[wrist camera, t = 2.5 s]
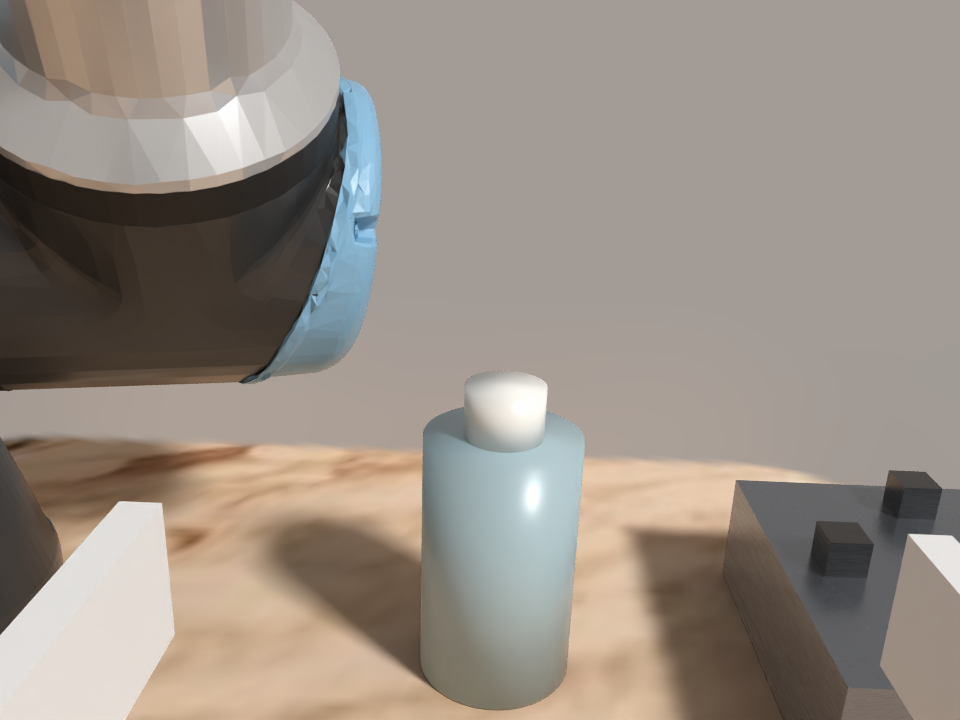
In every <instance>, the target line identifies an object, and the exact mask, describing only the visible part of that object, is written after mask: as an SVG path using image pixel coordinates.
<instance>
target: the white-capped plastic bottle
mask: <svg viewBox="0 0 960 720" xmlns="http://www.w3.org/2000/svg"><path fill="white" fill-rule="evenodd" d="M546 402H547V384H546V383H545V382H544V381H543V380H541V379H540V378H538V377H535V376H533V375H530V374H526V373H520V372H514V371H489V372H483V373H479V374H476V375H473V376H471V377H470V378H468V379H467V380H466V382H465V403H464V407H463V408H458V409H455V410H451V411H448V412H446V413H443V414H441V415H439V416H437V417H435V418H434V419H432V420H431V421H430V422H429V423H428V424H427V425H426V427H425V429H424V432H423V479H422V558H421V638H420V663H421V668H422V671H423V674H424V675H425V677H426V679H427V680H428V682H429V683H430V684H431V685H432V686H433V687H434V688H435V689H436V690H437V691H438V692H440V693H441V694H443V695H444V696H445V697H447V698H449V699H451V700H453V701H455V702H458V703H460V704H463V705H466V706H470V707H474V708H479V709H486V710H509V709H516V708H521V707H525V706H528V705H532V704H534V703H536V702H539V701H541V700H542V699H544V698H546V697H548V696H549V695H550V694H551V693H553V692H554V691H555V690H556V689H557V688H558V687H559V685H560V684H561V682H562V681H563V679H564V676H565V674H566V669H567V658H568V646H569V633H570V621H571V609H572V596H573V584H574V571H575V559H576V547H577V534H578V522H579V510H580V497H581V485H582V473H583V460H584V447H585V438H584V435H583V433H582V432H581V430H580V429H579V428H578V427H577V426H576V425H574V424H573V423H572V422H570V421H568V420H566V419H565V418H562V417H561V416H558V415H556V414H553V413H550V412H547V411H546Z"/></svg>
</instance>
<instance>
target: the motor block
mask: <svg viewBox="0 0 960 720" xmlns="http://www.w3.org/2000/svg"><path fill="white" fill-rule="evenodd" d="M908 534H924V535H948V536H953V537H954V538H955V539H956V540H957V541H958V542H959V543H960V490H957V489H942V488H941V487H940V486H939V485H938V484H937V483H936V482H935V481H934V480H933V479H932V478H931V477H930V476H929V475H928V474H927V473H926V472H914V471H891V470H890V471H889V473H888V478H887V483H886V486H862V485H838V484H814V483H791V482H767V481H743V480H736V484H735V491H734V498H733V505H732V512H731V518H730V525H729V532H728V539H727V546H726V552H725V559H724V566H723V575H724V578H725V580H726V582H727V585H728V587H729V589H730V592H731V594H732V597H733V599H734V601H735V604H736V606H737V609H738V611H739V613H740V616H741V618H742V621H743V623H744V625H745V628H746V630H747V633H748V635H749V637H750V640H751V642H752V645H753V647H754V649H755V652H756V654H757V656H758V659H759V661H760V664H761V666H762V668H763V671H764V673H765V676H766V678H767V680H768V683H769V685H770V688H771V690H772V692H773V695H774V697H775V700H776V702H777V704H778V707H779V709H780V712H781V714H782V716H783V719H784V720H913V718H912V716H911V715H910V713H909V712H908V710H907V708H906V707H905V705H904V704H903V702H902V700H901V699H900V697H899V695H898V694H897V692H896V691H895V689H894V687H893V686H892V684H891V683H890V681H889V679H888V678H887V676H886V675H885V673H884V671H883V670H882V668H881V666H880V662H881V657H882V653H883V648H884V643H885V639H886V634H887V629H888V625H889V620H890V615H891V611H892V606H893V601H894V597H895V592H896V587H897V583H898V578H899V573H900V569H901V564H902V559H903V555H904V550H905V545H906V541H907V536H908Z"/></svg>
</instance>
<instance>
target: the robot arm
mask: <svg viewBox="0 0 960 720" xmlns="http://www.w3.org/2000/svg"><path fill="white" fill-rule="evenodd" d="M380 201H381V146H380V135H379V129H378V122H377V117H376V112H375V107H374V104H373V101H372V99H371V97H370V95H369V93H368V91H367V90H366V89H365V88H364V87H363V86H362V85H361V84H358V83H356V82H354V81H351V80H346V79H345V78H343V77H341V76H340V67H339V62H338V57H337V54H336V51H335V49H334V47H333V44H332V42H331V40H330V39H329V37H328V35H327V34H326V32H325V30H324V29H323V28H322V27H321V26H320V25H319V24H318V22H317V21H316V20H315V19H314V18H313V17H312V16H311V15H310V14H309V13H308V12H307V11H305V10H304V9H303V8H302V7H301V6H300V5H298V4H297V3H296V2H294V1H293V0H0V391H11V390H22V389H50V388H81V387H109V386H138V385H169V384H198V383H226V382H239V383H241V384H255V383H258V382H261V381H263V380H265V379H268V378H270V377H276V376H286V375H296V374H306V373H315V372H319V371H323V370H325V369H328V368H330V367H332V366H334V365H335V364H336V363H338V362H339V361H340V360H341V359H342V358H343V357H344V356H345V355H346V354H347V353H348V352H349V350H350V349H351V347H352V346H353V344H354V342H355V340H356V338H357V336H358V334H359V332H360V329H361V326H362V323H363V320H364V317H365V313H366V310H367V306H368V301H369V297H370V292H371V287H372V282H373V276H374V270H375V262H376V254H377V240H376V234H375V226H376V224H377V221H378V216H379V210H380ZM174 635H175V630H174V620H173V610H172V600H171V590H170V579H169V569H168V559H167V549H166V539H165V528H164V518H163V508H162V503H150V502H126V501H119V502H118V503H117V504H116V505H115V506H114V508H113V509H112V510H111V511H110V512H109V513H108V514H107V515H106V517H105V518H104V519H103V520H102V521H101V522H100V523H99V525H98V526H97V527H96V528H95V529H94V530H93V531H92V532H91V534H90V535H89V536H88V537H87V538H86V539H85V540H84V541H83V543H82V544H81V545H80V546H79V547H78V548H77V549H76V550H75V552H74V553H73V554H72V555H71V556H70V557H69V558H68V559H67V561H66V562H65V563H64V564H63V559H62V552H61V545H60V541H59V538H58V535H57V532H56V530H55V528H54V526H53V524H52V523H51V521H50V520H49V519H48V518H47V517H46V516H45V514H44V513H43V512H42V510H41V508H40V506H39V504H38V502H37V500H36V498H35V496H34V494H33V493H32V491H31V489H30V487H29V485H28V484H27V482H26V480H25V478H24V476H23V475H22V473H21V471H20V470H19V468H18V466H17V464H16V463H15V461H14V459H13V458H12V456H11V454H10V453H9V451H8V449H7V448H6V446H5V444H4V443H3V441H2V439H1V438H0V720H125V719H126V717H127V716H128V714H129V712H130V710H131V709H132V707H133V705H134V704H135V702H136V700H137V698H138V697H139V695H140V693H141V692H142V690H143V688H144V686H145V685H146V683H147V681H148V680H149V678H150V676H151V674H152V673H153V671H154V669H155V668H156V666H157V664H158V662H159V661H160V659H161V657H162V656H163V654H164V652H165V650H166V649H167V647H168V645H169V643H170V642H171V640H172V638H173V637H174ZM880 666H881V668H882V670H883V671H884V673H885V675H886V676H887V678H888V679H889V681H890V683H891V684H892V686H893V687H894V689H895V691H896V692H897V694H898V695H899V697H900V699H901V700H902V702H903V704H904V705H905V707H906V708H907V710H908V712H909V713H910V715H911V716H912V718H913V720H960V543H959V542H958V541H957V540H956V539H955V538H954V537H953V536H948V535H924V534H908V536H907V541H906V545H905V550H904V555H903V559H902V564H901V569H900V573H899V578H898V583H897V587H896V592H895V597H894V601H893V606H892V611H891V615H890V620H889V625H888V629H887V634H886V639H885V643H884V648H883V653H882V657H881V662H880Z"/></svg>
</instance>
